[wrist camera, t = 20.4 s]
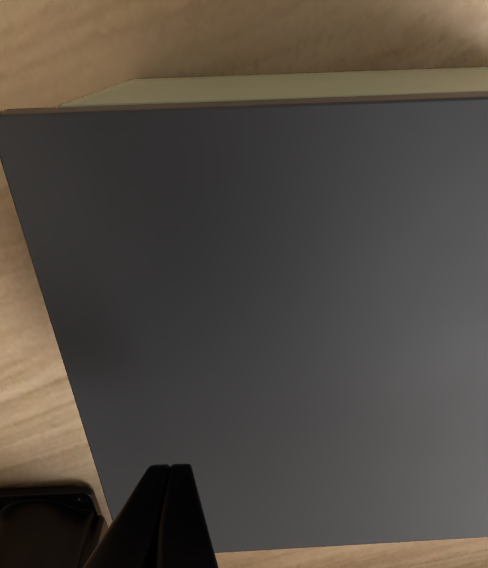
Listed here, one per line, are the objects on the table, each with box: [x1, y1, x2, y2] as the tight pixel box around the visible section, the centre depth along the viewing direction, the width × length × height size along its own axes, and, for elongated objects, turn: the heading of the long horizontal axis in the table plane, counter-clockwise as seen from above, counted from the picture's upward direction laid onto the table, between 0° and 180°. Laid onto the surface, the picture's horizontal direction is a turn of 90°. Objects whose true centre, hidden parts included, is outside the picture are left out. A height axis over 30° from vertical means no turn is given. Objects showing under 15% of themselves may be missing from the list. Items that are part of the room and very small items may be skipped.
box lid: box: [0, 91, 488, 553], centre depth 11 cm, size 13×14×1 cm
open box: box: [58, 67, 488, 107], centre depth 14 cm, size 13×14×7 cm
